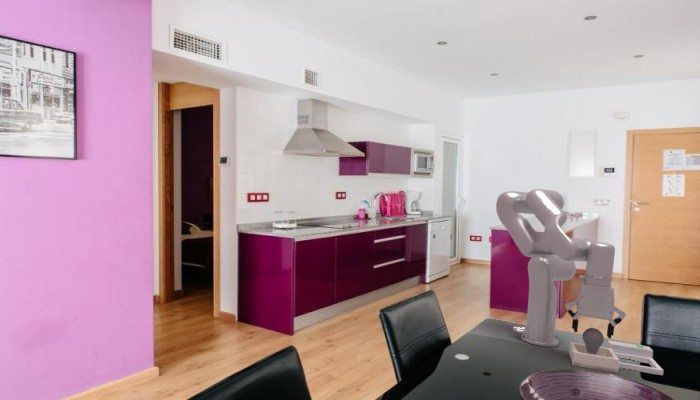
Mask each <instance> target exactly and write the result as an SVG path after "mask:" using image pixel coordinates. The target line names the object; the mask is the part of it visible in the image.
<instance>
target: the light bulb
mask: <svg viewBox="0 0 700 400" xmlns="http://www.w3.org/2000/svg"><path fill="white" fill-rule="evenodd" d="M604 338H605V337H604V334H603V333H602V332H601V331H600V330H599V329H597V328H594V327H589V328H587V329H585V330H584V331H583V333H582V341H583V344H585V345H586V349H587V352H588V353H587V354H592V355H597V352H598V349H599V347H602V345H603V344H604V341H605V340H604Z"/></svg>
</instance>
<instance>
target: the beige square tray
mask: <svg viewBox="0 0 700 400" xmlns="http://www.w3.org/2000/svg"><path fill="white" fill-rule="evenodd" d="M568 350H569V351H568V355H569V359H570V360H571V364H572V366H576V367H580V368H586V369H590V370H591V369H593V370H598V371H602V372H610V373H613V374H614V373H615V374H619V372H620V370H619V369H620V368H619V360H620V359H619V358H618V357H617V356H616V354H615V353H614V351H613V350H612V349H610V348H607V347H603V346H600V347H599V349H598V352H597V355H592V354H587V353H588V352H587V349H586V345H585V343H579V342H574V341H573V342H572V341H571V342H569V349H568Z"/></svg>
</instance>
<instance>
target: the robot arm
mask: <svg viewBox="0 0 700 400" xmlns="http://www.w3.org/2000/svg"><path fill="white" fill-rule="evenodd" d="M495 204H496V205H495V206H496V207H495V208H496V209H495V210H496V214H497V215H496V216H498V220H500V222H501V224H502V225H503V227H504V228H505V229H506V230H507V233H509V235H510V236H511V238H512V240H513V242H514V244H515V245H516V246H517V248H518V250H519V252H521V254H522V255H523V256H525V257H528V258H529V261H528V264H527V272H528V283H529V284H528V302H527V303H528V304H527V314H526V315H527V317H526V324H525V326H517V325H513V329H512V331H513V332H515V333H517V334H521V336H520V339H521V340H522V341H524V342H526V343H528V344H531V345H534V346H540V347H549V348H550V347H553V348H554V347H557V346H559V344H560V343H559V342H560V341H559V339H557V338H555V333H556V321H557V320H556V318H557V305H558V291H557V288H556V285H555V282H562V281H563V282H564V281H570V280H572V279H573V278H574V277H575V275H576V273H577V268H576V267H577V266H576V264H575V262H586V266H585V273H584V275H582V274H581V275H579V280H581V281H583V282H582V283H581V285H580V288H579V293H578V295H577V296H578V297H577V299H576V300H573V301H569V302H566V303H564V306H565V308H566V311H567V313H568V314H569V316H570V317H571V318H572V324H571V329H573V332H574V333H578V327H579V318H580V317H588V318H592V319H593V318H594V319H600V320H606V321H608V322H609V323H607V329H606V330H607V331H606V336H607V338H608V339H611V338H612V336H614V331H615V327H616V326H617V325H618V324H621V323H622V321H623V320H624V318H625V317H626V316H627V314H626V313H625V312H624V311H622V310H621V309H619V308H618V307H616V306H615V289H614V288H613V287H612V281H613V274H614V273H613V271H614V263H615V262H614V261H615V255H616V253H615V252H616V247H615V246H614V245H613V244H611V243H605V242H598V241H595V240H592V239H588V238H577V237H576V238H574V237H569V236H567V234H566V233H565V232H564V231H563V230H562V228H561V227H563V225H565V224H566V222H567V219H568V216H567V213H565V211H564V210H563V208H564V205H565V201H564V198H563V196H562V194H561V193H559V192H558V191H556V190H550V189H549V190H548V189H541V188H537V189H532V190H530V191H529V192H528V191H527V192H525V191H524V192H523V191H514V190H512V191H511V190H510V191H505V192H502V193H500V194H499V195H498V197H497V199H496V202H495ZM521 214H524V215H525V214H528V215H529V214H530V215H534V216H535V218H536V219H537V220H538V221H539V222H540V223H541V225H542V226H543V227H544V232H539V231H536V230H535V228H534V227H533V226H532V224H531V223H530V221H528V220H527V218H526V217H524V216H523V215H521ZM574 306H576V311H575V312H574V311H572V309H571V308H572V307H574ZM615 313H617V314H618V315H617V317H615V318H614V314H615Z"/></svg>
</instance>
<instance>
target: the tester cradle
mask: <svg viewBox="0 0 700 400" xmlns="http://www.w3.org/2000/svg"><path fill="white" fill-rule="evenodd" d="M606 344H607V345H606V348H610V349H612V350H613V351H614V353H615V354H616V356H617V357H621V358H626V359H631V360H635V361H634V362H637V361H639V363H645V364H649V365H650V366H645V365H639V364H633V363H627V362H621V361H620V359H619V369H623V368H625V369H624V370H629V369H631V370H630V371H634V370H636V371H635V372H641V373H647V374H652V375H657V376H658V375H659V376H664V369H663V368H662V367H661V365H659V364H658V363H657V362H656V360H654V357H653V356H654V350H653V349H652V348H651V347H650V346H647V345H643V344H638V343H637V344H634V343H627V342H621V341H614V340H607V343H606ZM631 360H630V361H631Z"/></svg>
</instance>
